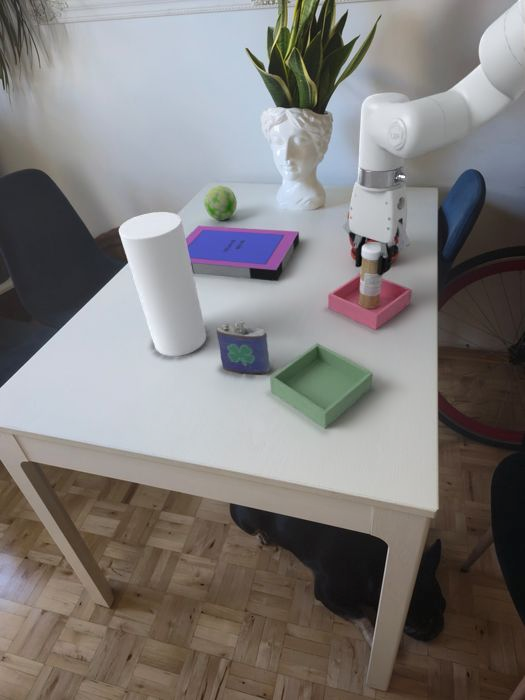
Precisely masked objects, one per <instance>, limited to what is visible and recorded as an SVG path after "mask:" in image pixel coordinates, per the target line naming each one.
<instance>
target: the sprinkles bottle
mask: <svg viewBox="0 0 525 700" xmlns="http://www.w3.org/2000/svg"><path fill="white" fill-rule="evenodd" d="M361 255H362V266H360V267H361V268H360V274H361V276H360V296H359V305H360V306H361V307H363V308H366V309H374V308H377V307H378V306H379V305H380V292H381V286H382V278H383V275H384V274H383V275H381V276H380V275H378V274H377V272H378V261H379V257H380V256H381V255H382V253H381V245H380V243H379V242H368V243H366V244H364V245H363V246H362V252H361Z"/></svg>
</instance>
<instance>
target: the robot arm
mask: <svg viewBox="0 0 525 700" xmlns="http://www.w3.org/2000/svg"><path fill="white" fill-rule="evenodd" d="M478 57H479V65H478V66H476V67H475V68H474V69H473V70H472V71H470V72H469V74H467V75H466V76H465V77H464V78H462V79H461V80H460V81H459V82H458V83H456V84H455V85H454V86H452V87H451V88H450V89H448V90H446V91H444V92H440V93H439V92H438V93H436V94H431V95H428V96H425V97H421V98H418V99H414V100H410V99H409V96H407V94H403V93H401V92H400V93H399V92H381V93H374V94H371V95H369V96H367V97H366V98H364V100H363V102H362V104H361V109H360V126H359V146H358V166H357V180H355V182H354V185H353V189H352V193H351V199H350V204H349V211H350V213H349V219H348V218H347V219H346V221H345V222H344V223H343V224H342V229H343V230H345V232H346V233H347V234H348V237H349V236H350V238H351V239H352V241H353V246H354V248H356V255H355V260H356V261H355V260H354V261H355V268H360V267H362V255H361V252H362V246H363V245H364V244H366V241H367V238H369V239H373V240H376V241H379V242H380V245H381V253H382V255H381V256H380V257H379V261H378V272H377V274H378V275H380V276H381V275H384V274H385V273H387V272H388V271H390V270H391V268H392V267H391V266H392V262H391V260H392V254H393V253H394V252H396V251H398V250H399V251H400V250H403V249H405V248H407V247H408V246H410V245H411V241H410V239H409V237H408V234H407V232H406V229H407V219H408V194H407V186H406V183H407V182H408V181H409V173H405V171H404V169H405V166H404V165H405V163H404V162H405V159H412V158H416V157H419V156H422V155H426V154H427V153H431V152H433V151H435V150H439V149H441V148H445V147H448V146H450V145H454V144H456V143H458V142H460V141H462V140H463V139H465V138H467V137H468V136H470V135H471V134H473V133H474V132H476V131H478V130H479V129H480V128H482V127H484V126H485V125H486V124H488V123H489V122H491V121H492V120H494V119H495V118H497V117H498V116H499V115H501V114H502V113H503V112H505V111H506V110H507V109H508V108H509V107H510V106H511V105H513V103H514V102H515V101H517V100H518V99H519V98H520V97H521V95H522V94H523V93H524V92H525V0H517V1H516V2H515V3H513V4H512V5H511V6H510V7H509V8H508V9H507V10H506V11H505V12H504V13H502V14H501V15H500V16H499V17H497V18H496V19H495V20H494V21H493V22H492V23H491V24H490V25H489V26H488V27H487V28H486V29H485V31H484V32H483V34H482V36H481V37H480V41H479V44H478ZM395 236H396V237H397V239H398V243H396V244H395V241H394V237H395Z"/></svg>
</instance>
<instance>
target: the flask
mask: <svg viewBox="0 0 525 700" xmlns="http://www.w3.org/2000/svg"><path fill="white" fill-rule="evenodd" d="M244 324H245V321H244V320H242V319H241V320H239V321H237V322H235V324H234V326H233V325H231V324H229V323H225V324H220V325H218V326H217V327H216V335H217V341H218V346H219V353H220V359H221V360H220V361H221V364H222V369H224V370H225V371H227V372H230V373H231V372H232V373H235V374H246V375H257V376H260V375H267V374H268V373H269V372H270V370H271V363H270V358H269V357H270V355H269V345H268V333H267V331H266V330H265V329H264V328H260V327H259V328H257V327H256V328H251V327H244Z"/></svg>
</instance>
